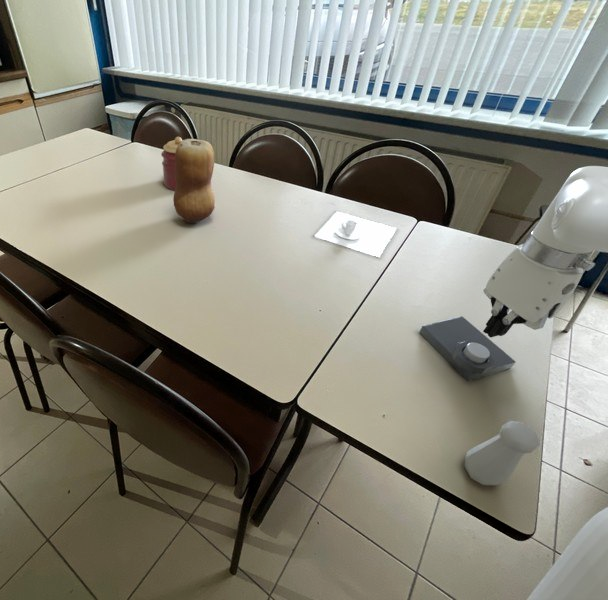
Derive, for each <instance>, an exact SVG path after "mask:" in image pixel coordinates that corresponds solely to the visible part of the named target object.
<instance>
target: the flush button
mask: <svg viewBox="0 0 608 600" xmlns="http://www.w3.org/2000/svg"><path fill="white" fill-rule="evenodd" d="M463 354H464V356H465V357H467V358H468V359H469V360H471V361H473V362H475V363H484V362H485V361H486V360H487V358H488V357H489V356H490V352H489V350H488V349H487V348H486V347H484V346H483V345H481V344H478V343H469V344H468V345H467V346H466V348H465V349H464V350H463Z"/></svg>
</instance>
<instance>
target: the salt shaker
mask: <svg viewBox="0 0 608 600" xmlns="http://www.w3.org/2000/svg"><path fill="white" fill-rule="evenodd" d="M540 444H541V439H540V437H539V435H538V433H537V432H536V431H535V430H534V429H533V427H531V426H530V425H528V424H526V423H524V422H521V421H518V420H509V421H507V422H506V423H505V424H503V425H502V426H501V428H500V431H499V434H497V435H495V436H494V437H492V438H489V439H488V440H486V441H484V442H482V443H480V444H478V445H476V446H474V447H472V448H471V449H469V450H468V451H467V452H466V454H465V459H464V468H465V470H466V472H467V474H468V476H469V478H470V479H472V480H473V481H475V482H477V483H479V484H480V485H482V486H500V485H503V484H505V483H506V482H507V481H509V479H510V477H511V476H512V474H513V472H514V471H515V469H516V467H517V466H518V465H519V463H520V462H521V460H522V458H523V456H524V455H525V454H531V453H533V452H535V451H536V450H537V449H538V448H540Z"/></svg>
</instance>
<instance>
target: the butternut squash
mask: <svg viewBox="0 0 608 600" xmlns="http://www.w3.org/2000/svg"><path fill="white" fill-rule="evenodd" d="M182 140H183V141H182V142H181V143H180V144H179V145H178V146H177V149H176V153H175V166H174V173H175V178H176V188H175V190H174V192H173V193H174V194H173V198H172V199H173V200H172V201H173V207H174V209H175V212H176V214H177V215H178V217H181V219H182V220H183V221H185V222H187V223H189V224H195V223H198V222H201V221H203V220H205V219H207V218H208V217H210V216H211V215H212V213H213V212H214V210H215V208H216V207H215V203H216V201H215V200H216V199H215V194H214V191H213V187H212V177H213V174H214V169H215V153H214V148H213V146H212V144H211V143H210V142H208V141H206V140H202V139H197V138H185V139H182Z"/></svg>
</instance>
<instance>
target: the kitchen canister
mask: <svg viewBox="0 0 608 600" xmlns="http://www.w3.org/2000/svg"><path fill="white" fill-rule="evenodd" d="M183 140H184V139H182V137H180V136H176V137H175V138H174V140H170V141H168V142H167V143H166V144H164V145H163V147H162V148H163V150H162V152H161V157H162V162H161V165H162V173H163V183H164V186H165V187H166V188H167V189H169V190H172V191H175V188H176V178H175V173H174V166H175V153H176V149H177V146H178V145H179V144H180V143H181V142H182V141H183Z"/></svg>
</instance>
